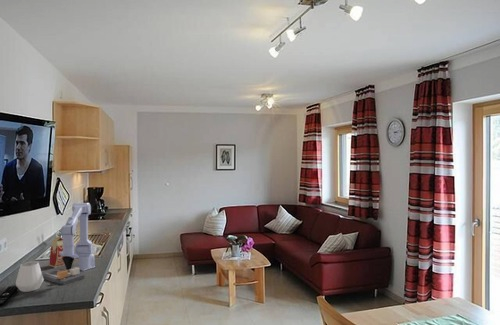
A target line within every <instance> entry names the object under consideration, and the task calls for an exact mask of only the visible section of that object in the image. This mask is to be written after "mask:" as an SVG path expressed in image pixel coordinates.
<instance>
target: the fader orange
mask: <svg viewBox="0 0 500 325" xmlns="http://www.w3.org/2000/svg"><path fill="white" fill-rule="evenodd" d="M68 271H69V270H67V269H63V271H59V272H57V278H59V279H62V278H65V277H68Z"/></svg>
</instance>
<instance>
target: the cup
mask: <svg viewBox="0 0 500 325" xmlns="http://www.w3.org/2000/svg"><path fill="white" fill-rule="evenodd" d="M42 273H43V272H42V269H41V266H40V263H39V261H27V262H24V263H21V264H20V265H19V269H18V273H17V276H16V280H15V286H16V288H17V289H19V291H20V292H23V293H26V292H28V293H29V292H32V291H36V290H39V289H40V288H41V286H42V284H43V283H44V280H45V279H43V275H42Z"/></svg>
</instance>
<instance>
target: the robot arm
mask: <svg viewBox="0 0 500 325" xmlns="http://www.w3.org/2000/svg"><path fill="white" fill-rule="evenodd" d="M71 210H72V214H71V216H70V217H68V218H67V221H66V223H65V224H64V225H62V226H61V229H60V235H61V238H62V239H63V251H62V252H60V255H61V256H64V257H63V258H62V260H63V261H64V263H65V270H67V271H70V269H72V268H73V263H74V260H75V259H78V260H77V261H78V262H77V263H78V266H77V267H78V268H80V272H81V271H82V272H84V271H88V270H91V269H94V268H96V266H95V261H96V260H95V255H94V246H93V242H92V241H91V240H89V215H91V213H92V205H91V204H90V202H74V203H73V204H72V206H71ZM78 223H79V241H77V242H76V243H75V234H76V230H77V228H76V227H77V225H78Z"/></svg>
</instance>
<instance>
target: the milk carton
mask: <svg viewBox="0 0 500 325" xmlns="http://www.w3.org/2000/svg"><path fill="white" fill-rule="evenodd" d="M62 251H63V238H62V235H61V236H57V237H53V240H52V242H51V245H50V252H49V253H50V254H49V262H48V264H49V265H48V266H49V267H53V268H54V269H58V268H60V267H64V266H65V263H64V261H63V260H62V258H63V257H64V256H61V255H60V252H62ZM65 267H66V266H65Z"/></svg>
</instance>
